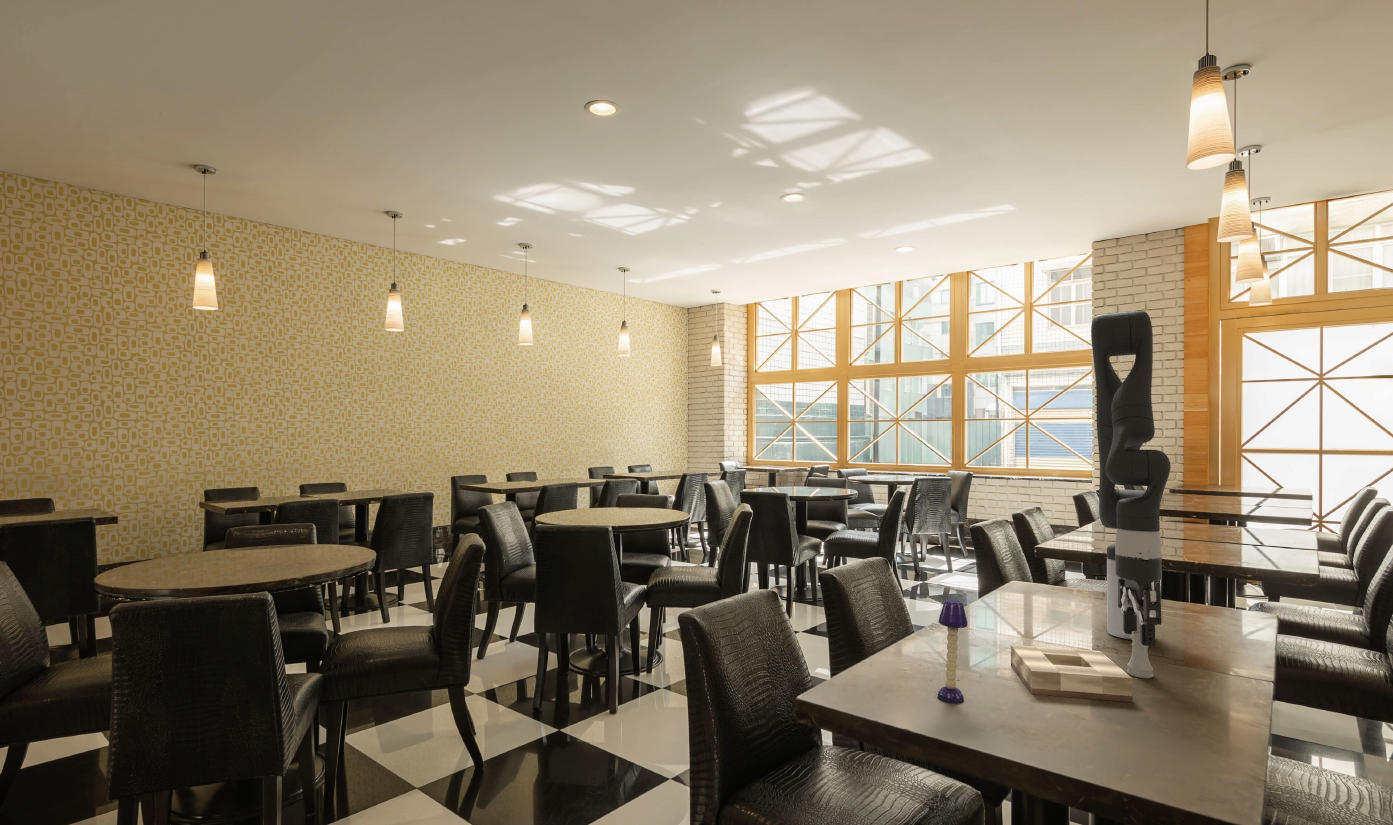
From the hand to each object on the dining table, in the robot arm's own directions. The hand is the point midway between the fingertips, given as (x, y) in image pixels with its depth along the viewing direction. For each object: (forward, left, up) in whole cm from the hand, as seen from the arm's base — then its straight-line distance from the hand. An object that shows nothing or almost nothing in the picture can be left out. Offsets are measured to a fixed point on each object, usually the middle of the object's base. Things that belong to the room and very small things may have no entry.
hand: (1138, 639), depth 135 cm
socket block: (+8, -15, -7) cm, 18 cm away
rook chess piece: (0, 0, -7) cm, 7 cm away
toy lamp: (+22, -37, -7) cm, 43 cm away
